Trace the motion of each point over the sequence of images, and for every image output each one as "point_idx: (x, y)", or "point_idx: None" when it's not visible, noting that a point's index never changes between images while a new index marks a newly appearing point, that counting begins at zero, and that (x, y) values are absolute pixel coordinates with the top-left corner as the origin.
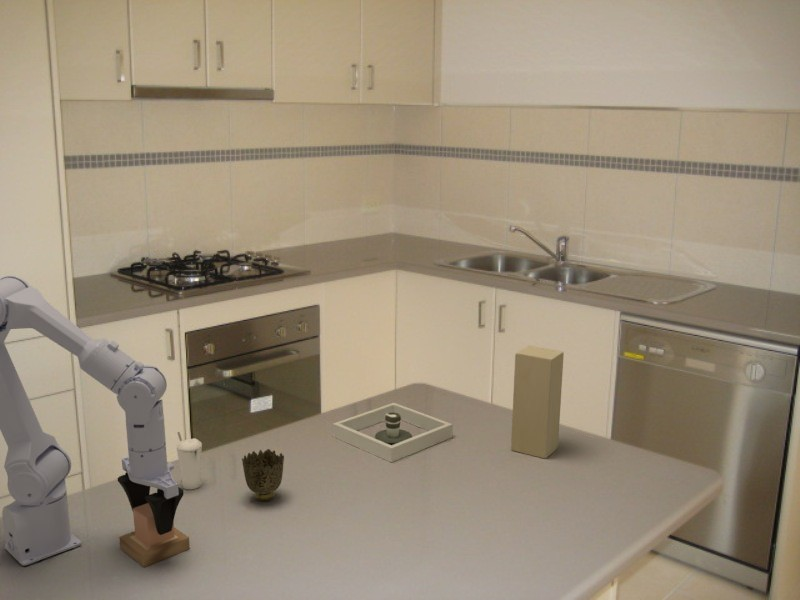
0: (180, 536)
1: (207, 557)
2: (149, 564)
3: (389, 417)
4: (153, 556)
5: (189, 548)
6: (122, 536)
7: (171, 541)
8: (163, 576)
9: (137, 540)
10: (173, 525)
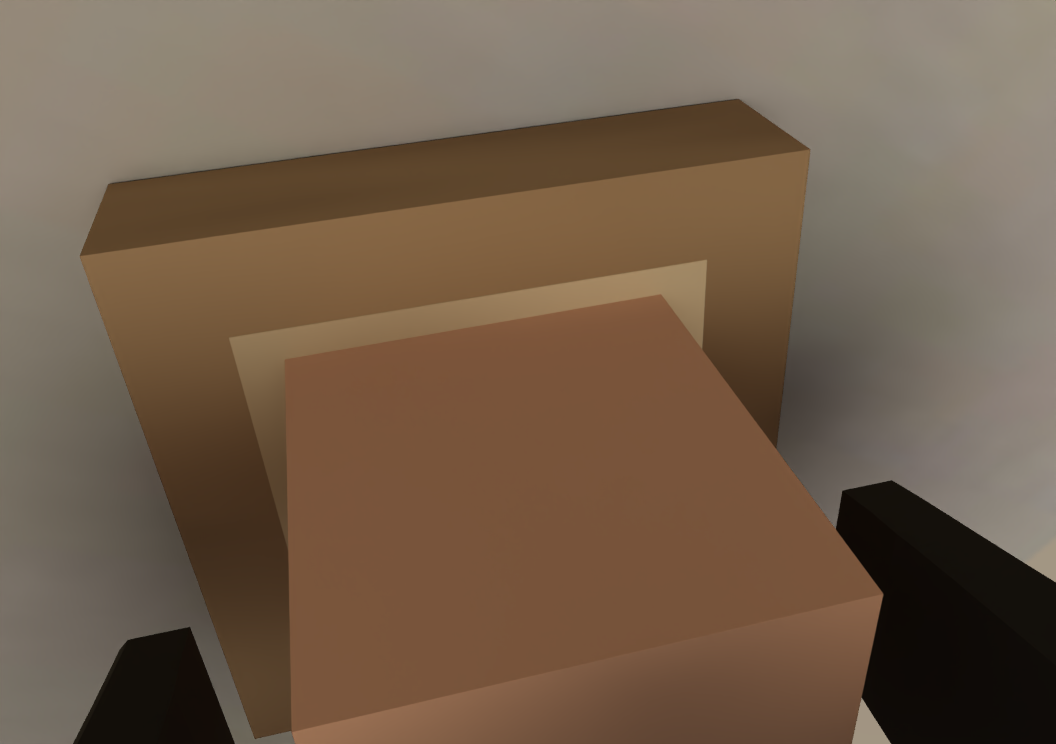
0: (708, 232)
1: (1034, 10)
2: None
3: None
4: None
5: (737, 102)
6: (266, 716)
7: (728, 357)
8: (933, 454)
9: None
10: (725, 388)
